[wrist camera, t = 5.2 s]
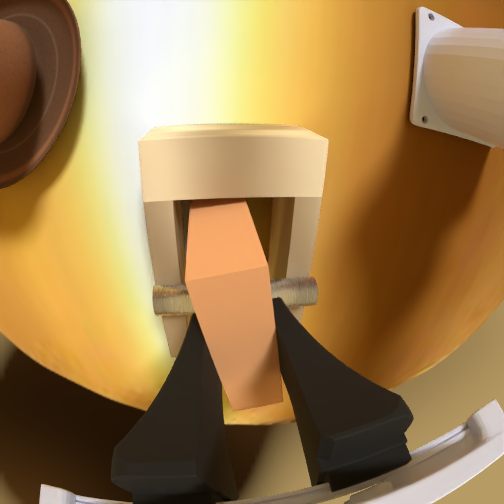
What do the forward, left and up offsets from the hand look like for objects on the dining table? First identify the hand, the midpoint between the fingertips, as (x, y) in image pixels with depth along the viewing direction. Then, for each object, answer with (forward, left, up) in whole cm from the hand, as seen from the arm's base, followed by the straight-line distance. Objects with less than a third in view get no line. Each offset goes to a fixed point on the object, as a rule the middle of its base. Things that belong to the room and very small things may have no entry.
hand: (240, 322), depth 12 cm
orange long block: (0, 0, -4) cm, 4 cm away
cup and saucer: (+13, -11, -7) cm, 18 cm away
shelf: (0, -1, -6) cm, 6 cm away
